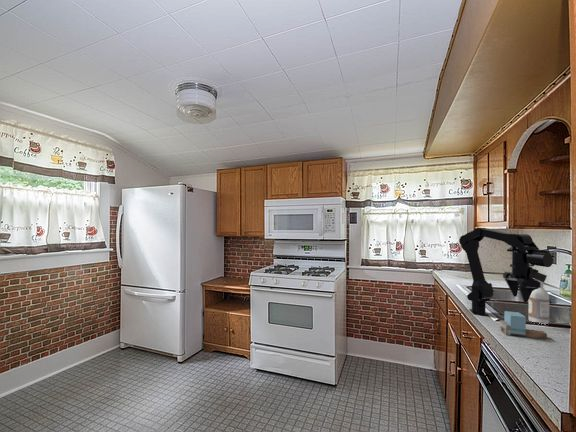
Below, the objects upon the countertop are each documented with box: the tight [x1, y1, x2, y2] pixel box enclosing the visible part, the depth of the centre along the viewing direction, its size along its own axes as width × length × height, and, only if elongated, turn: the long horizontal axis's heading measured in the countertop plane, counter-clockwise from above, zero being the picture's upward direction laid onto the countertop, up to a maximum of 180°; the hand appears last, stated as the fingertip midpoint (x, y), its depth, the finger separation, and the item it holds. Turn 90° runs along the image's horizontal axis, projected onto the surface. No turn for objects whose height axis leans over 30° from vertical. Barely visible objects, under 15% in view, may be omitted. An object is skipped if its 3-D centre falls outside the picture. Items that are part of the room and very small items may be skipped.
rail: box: [499, 319, 548, 340], centre depth 111 cm, size 14×6×4 cm, turn 72°
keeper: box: [503, 310, 527, 335], centre depth 112 cm, size 5×6×7 cm
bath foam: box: [527, 278, 550, 326], centre depth 125 cm, size 7×7×20 cm
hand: (520, 299), depth 118 cm, fingers open, 9 cm apart
